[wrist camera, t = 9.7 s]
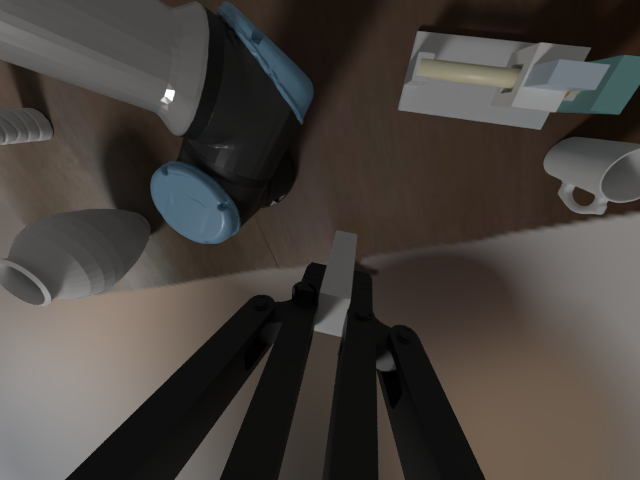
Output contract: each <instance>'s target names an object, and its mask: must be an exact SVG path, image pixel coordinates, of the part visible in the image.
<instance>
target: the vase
mask: <svg viewBox="0 0 640 480" xmlns="http://www.w3.org/2000/svg"><path fill="white" fill-rule="evenodd" d="M150 232H151V227H150V224H149V222H148V221H147V220H146V219H145V218H144V217H143V216H142V215H140V214H139V213H136V212H131V211H126V210H119V209H86V210H79V211H72V212H65V213H59V214H54V215H50V216H47V217H45V218H42V219H39V220H37V221H36V222H34V223H32V224H30V225H28V226H27V227H25V228H24V229H23V230H22V231H21V232H20V233H19V234H18V235H17V236H16V237H15V238H14V240H13V243H12V246H11V249H10V252H9V256H8V258H6V259H0V284H1V285H2V286H3V287H4V288H5V289H6V290H8V291H9V292H10V293H12V294H13V295H14V296H16V297H18V298H19V299H21V300H23V301H25V302H27V303H31V304H34V305H37V306H47V305H49V304H50V303H51V302H52V300H53V299H54V298H84V297H87V296H91V295H95V294H97V293H100V292H102V291H104V290H106V289H108V288H110V287H111V286H113V285H114V284H116V283H117V282H118V281H119V280H121V278H122V277H123V276H124V275H125V274H126V273H127V272H128V271H129V270H130V269H131V268H132V266H133V265H134V264H135V263H136V262H137V261H138V259H139V257H140V256H141V254H142V252H143V250H144V249H145V247H146V244H147V243H148V240H149V235H150Z"/></svg>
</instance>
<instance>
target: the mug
mask: <svg viewBox="0 0 640 480" xmlns="http://www.w3.org/2000/svg"><path fill="white" fill-rule="evenodd" d="M544 169H545V171H546V172H547V173H548V174H550V175H552V176H554V177H556V178H558V179H560V180H562V185H561V188H560V189H559V191H558V195H559V196H560V198H561V199H562V200H563V202H564V203H565V205H566V206H567V207H568V208H569V209H571V210H572V211H574V212H576V213H581V214H603V213H604V211H605V210H606V208H607V205H606V204H607V202H608V201H612V202H618V203H621V202H630V201H634V200H637V199H640V144H635V143H626V142H618V141H609V140H601V139H593V138H583V137H571V138H567V139H564V140H562V141H560V142H558V143H557V144H556V145H554V146H553V147H552V148H551V149H550V150H549V151H548V153H547V154H546V156H545V159H544ZM575 186H577V187H579V188H582V189H584V190H586V191H588V192H591V193H593V194H594V195H595V200H594V201H593V203H592V204H590V205H589V206H580V205H578V204H577V203H576V202H575V201H574V199H573V196H572V192H573V189H574V188H575Z"/></svg>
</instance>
